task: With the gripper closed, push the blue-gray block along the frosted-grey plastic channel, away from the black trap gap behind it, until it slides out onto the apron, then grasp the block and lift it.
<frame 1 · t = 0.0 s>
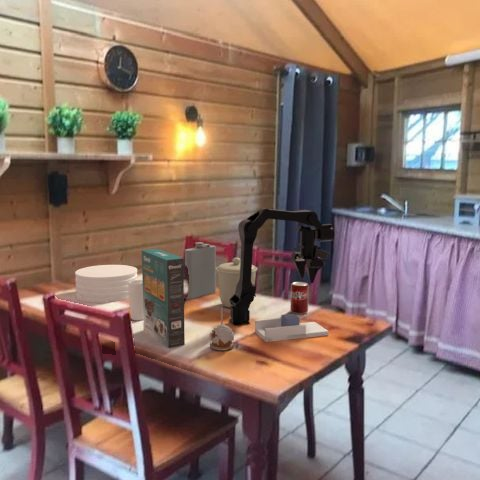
hand: (306, 280, 206), 15 cm above the table, fingers open, 9 cm apart
plate stack: (107, 295, 241), on the table
trap channel: (286, 333, 186), on the table
canister: (236, 305, 223), on the table
flask: (200, 295, 239), on the table
soda can: (299, 312, 214), on the table
decorative ornament: (221, 348, 173), on the table
white cylinder: (138, 319, 203), on the table
blue-gray block: (290, 329, 187), point 1 cm above the table, touching trap channel
cake mix box: (163, 337, 183), on the table
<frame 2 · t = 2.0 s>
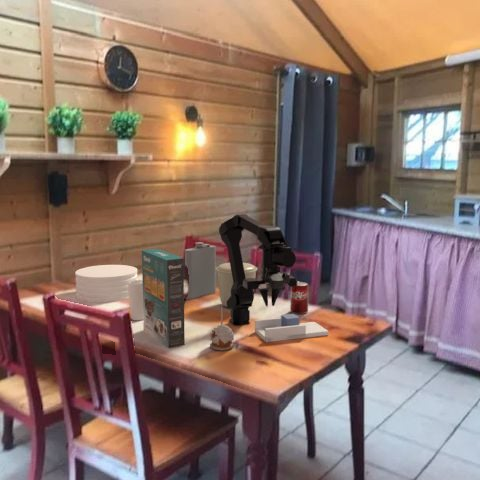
hand: (269, 306, 183), 11 cm above the table, fingers closed
nothing on the table moved.
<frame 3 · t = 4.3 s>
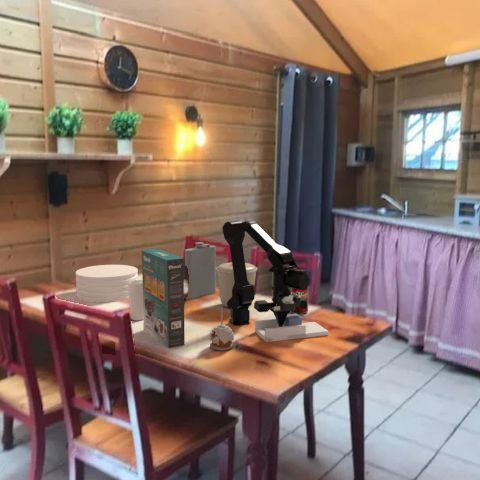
hand: (280, 327, 185), 3 cm above the table, fingers closed
blue-gray block: (292, 329, 187), point 2 cm above the table, touching gripper
everything else where it was.
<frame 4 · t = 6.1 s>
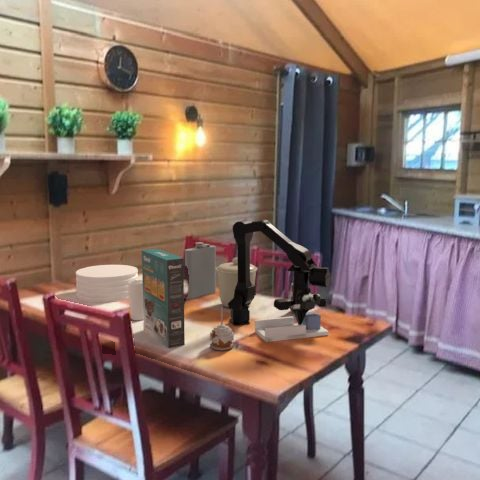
hand: (299, 325, 187), 3 cm above the table, fingers closed
blue-gray block: (311, 327, 189), point 1 cm above the table, touching gripper, trap channel
everything else where it was.
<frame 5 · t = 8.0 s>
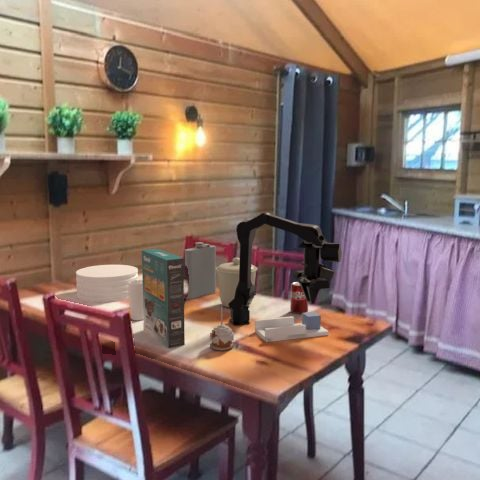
hand: (310, 302, 187), 11 cm above the table, fingers open, 3 cm apart
blue-gray block: (311, 327, 189), point 1 cm above the table, touching trap channel
everything else where it was.
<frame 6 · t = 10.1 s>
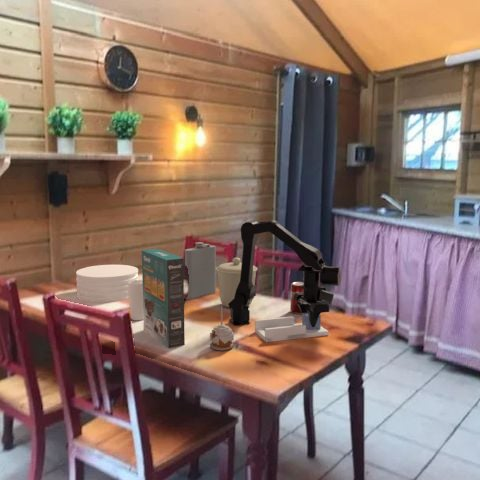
hand: (310, 324, 189), 3 cm above the table, fingers closed on blue-gray block, 5 cm apart
blue-gray block: (311, 327, 189), point 2 cm above the table, touching gripper, trap channel
everything else where it was.
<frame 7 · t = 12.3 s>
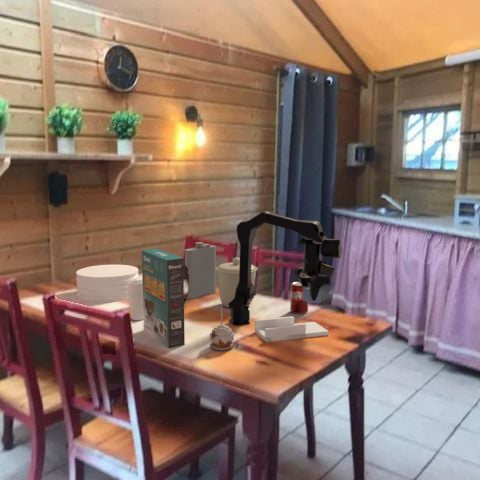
hand: (310, 298, 187), 12 cm above the table, fingers closed on blue-gray block, 5 cm apart
blue-gray block: (312, 301, 188), point 11 cm above the table, touching gripper
everything else where it was.
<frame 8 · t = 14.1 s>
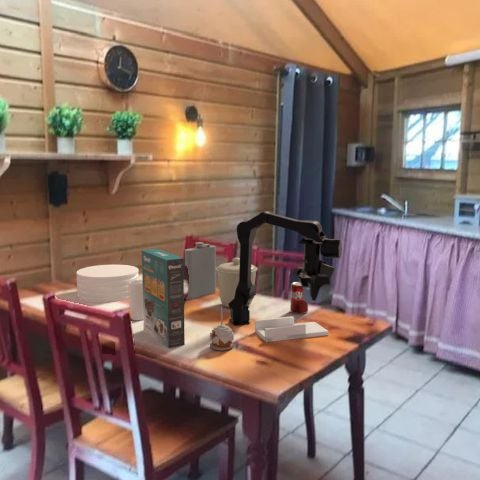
hand: (310, 298, 187), 12 cm above the table, fingers closed on blue-gray block, 5 cm apart
blue-gray block: (312, 301, 188), point 11 cm above the table, touching gripper
everything else where it was.
at the end: the gripper is holding blue-gray block; blue-gray block inside the target area on the trap channel (1.5 cm from its centre), point 11.4 cm above the trap channel's base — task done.
